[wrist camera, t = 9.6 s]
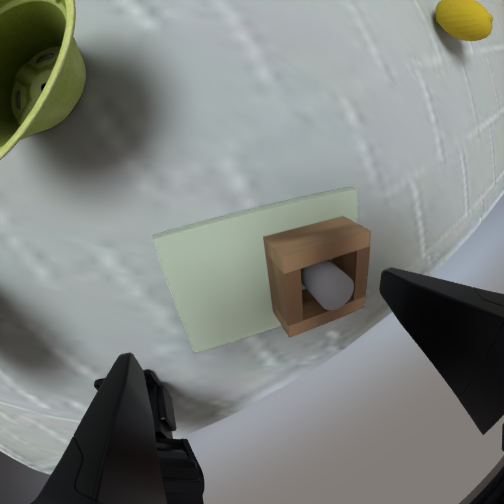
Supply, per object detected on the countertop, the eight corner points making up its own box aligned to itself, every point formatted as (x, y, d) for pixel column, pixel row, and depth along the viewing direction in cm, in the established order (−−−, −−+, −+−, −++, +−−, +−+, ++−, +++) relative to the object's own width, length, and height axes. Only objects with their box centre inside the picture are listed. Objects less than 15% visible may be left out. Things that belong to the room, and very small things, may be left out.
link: (272, 311, 23) (289, 337, 20) (262, 236, 20) (282, 257, 17) (342, 286, 25) (363, 307, 22) (343, 215, 22) (370, 231, 19)
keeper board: (193, 346, 23) (204, 392, 19) (152, 235, 18) (151, 271, 14) (349, 293, 27) (381, 323, 22) (351, 186, 22) (395, 204, 17)
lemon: (451, 23, 17) (502, 21, 10) (447, 50, 18) (503, 51, 11) (424, -8, 14) (477, -16, 7) (419, 19, 16) (479, 11, 9)
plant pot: (-6, 59, 8) (-73, 41, 1) (107, 7, 10) (81, -59, 3) (5, 173, 13) (-70, 209, 5) (119, 127, 15) (82, 123, 7)
